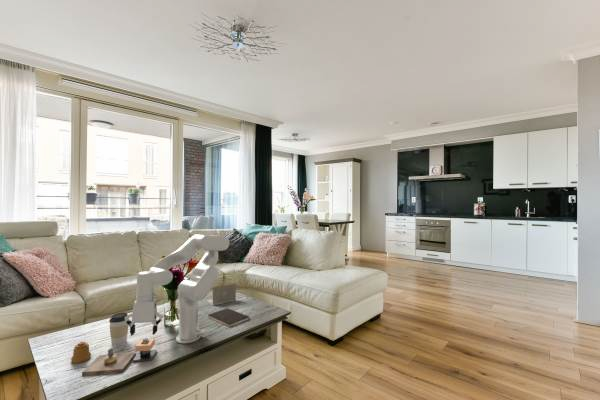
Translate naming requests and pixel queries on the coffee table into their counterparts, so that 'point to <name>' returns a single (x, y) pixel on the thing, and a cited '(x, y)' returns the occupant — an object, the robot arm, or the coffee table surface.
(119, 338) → the coffee cup
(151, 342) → the square peach frame
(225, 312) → the hardcover book
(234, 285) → the laptop
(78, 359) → the ornamental finial
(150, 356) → the stand
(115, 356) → the toggle switch
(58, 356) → the coffee table surface
